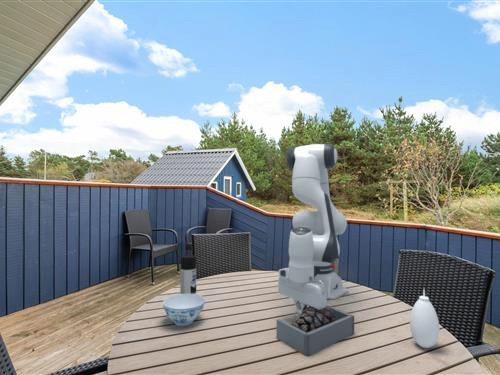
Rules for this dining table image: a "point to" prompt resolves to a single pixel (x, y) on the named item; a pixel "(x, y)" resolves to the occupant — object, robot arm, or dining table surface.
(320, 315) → the pine cone
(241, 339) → the dining table surface
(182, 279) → the spray can
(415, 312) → the sauce bottle
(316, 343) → the box
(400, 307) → the dining table surface
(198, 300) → the chinaware
